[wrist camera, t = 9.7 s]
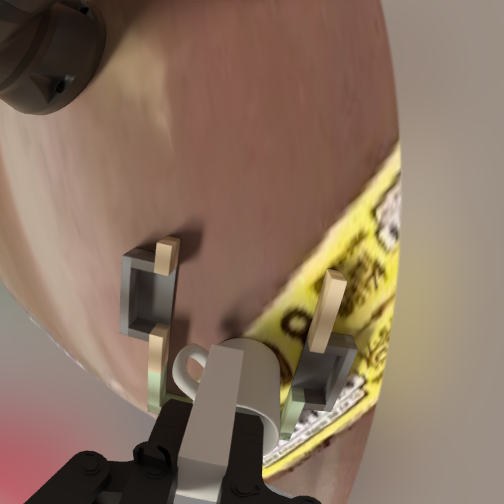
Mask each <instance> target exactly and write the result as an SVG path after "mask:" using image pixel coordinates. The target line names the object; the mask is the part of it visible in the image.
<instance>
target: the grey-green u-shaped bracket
mask: <svg viewBox="0 0 504 504" xmlns="http://www.w3.org/2000/svg"><path fill="white" fill-rule="evenodd" d="M180 240H181V239H179V238H175V237H170V236H166V237H165V238H163V239H162V240H160V241H159V242H157V246H156V253H155V252H151V251H146V250H142V249H137V248H133V249H132V250H130V251H129V252H127V253H125V254H124V255H122V270H121V292H120V334H123V335H127V336H130V337H134V338H137V339H140V340H144V341H148V342H149V358H148V412H151V413H155V414H158V415H159V413H160V410H161V408H162V406H163V405H164V404H165V403H166V402H167V401H168V400H170V399H171V398H172V399H176V400H180V401H184V402H188V403H192V404H193V400H192V399H190V398H186V397H182V396H178V395H174V394H170V393H167V392H166V382H167V366H168V352H169V340H170V328H171V317H172V307H173V298H174V289H175V280H176V271H177V263H178V255H179V248H180ZM346 284H347V280H346V279H345V277H344V276H343V274H342V272H341V271H336V270H331V269H327V271H326V274H325V278H324V281H323V285H322V289H321V292H320V296H319V299H318V303H317V306H316V309H315V313H314V316H313V319H312V323H311V326H310V329H309V332H308V336H307V339H306V342H305V345H304V348H303V351H302V354H301V357H300V361H299V364H298V367H297V370H296V373H295V375H294V378H293V381H292V384H291V387H290V390H289V393H288V396H287V398H286V401H285V404H284V407H283V410H282V412H281V415H280V440H288V441H289V440H290V437H291V435H292V433H293V430H294V428H295V426H296V423H297V421H298V419H299V416H300V414H301V411H302V409H309V410H318V411H328V412H331V411H332V409H333V407H334V405H335V403H336V400H337V398H338V396H339V394H340V392H341V389H342V387H343V385H344V383H345V380H346V378H347V376H348V373H349V371H350V369H351V366H352V364H353V361H354V359H355V356H356V354H357V351H358V348H357V346H356V344H355V341H354V339H353V337H352V336H350V335H344V334H337V333H331V331H332V328H333V325H334V322H335V319H336V316H337V313H338V310H339V307H340V304H341V301H342V297H343V294H344V291H345V288H346Z"/></svg>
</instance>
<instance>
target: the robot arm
mask: <svg viewBox="0 0 504 504" xmlns="http://www.w3.org/2000/svg"><path fill="white" fill-rule="evenodd" d="M105 39H106V29H105V23H104V20H103V18H102V16H101V14H100V13H99V12H98V11H97V10H96V9H95V8H94V7H92V6H91V5H90V4H88V3H87V2H85V1H83V0H0V99H2V100H3V101H4V102H6V103H7V104H8V105H10V106H11V107H13V108H14V109H15V110H17V111H19V112H22V113H25V114H33V115H46V114H50V113H53V112H55V111H57V110H59V109H61V108H62V107H64V106H65V105H67V104H68V103H69V102H71V101H72V100H73V99H74V98H75V97H76V96H77V95H78V94H79V93H80V92H81V91H82V89H83V88H84V87H85V86H86V84H87V83H88V82H89V80H90V79H91V77H92V75H93V74H94V72H95V70H96V68H97V66H98V64H99V62H100V59H101V56H102V53H103V50H104V45H105ZM243 354H244V351H242V350H237V349H232V348H227V347H222V346H217V345H213V344H212V345H211V348H210V351H209V354H208V358H207V361H206V364H205V368H204V371H203V374H202V377H201V381H200V384H199V387H198V391H197V394H196V397H195V401H194V404H192V403H188V402H184V401H180V400H176V399H172V398H171V399H170V400H168V401H167V402H166V403H165V404H164V405H163V406H162V408H161V410H160V413H159V416H158V418H157V420H156V423H155V425H154V428H153V430H152V432H151V435H150V437H149V440H148V441H146V442H143V443H140V444H139V445H137V446H136V447H135V448H134V450H133V457H134V460H132V461H128V462H118V461H107V459H106V458H105V457H103V456H102V455H101V454H99V453H97V452H94V451H83V452H79V453H77V454H76V455H74V456H73V457H72V458H71V459H70V460H69V461H68V462H67V463H66V464H65V465H64V466H63V467H62V468H61V469H60V470H59V471H58V472H57V473H56V474H55V475H54V476H52V477H51V479H49V480H48V481H47V482H46V483H45V484H44V485H43V486H42V487H41V488H40V489H39V490H38V491H37V492H36V493H35V494H34V495H32V496H31V497H30V498H29V499H28V500H27V501H26V502H25V503H24V504H173V501H174V497H175V494H179V495H183V496H188V497H192V498H197V499H202V500H207V501H212V502H217V504H322V503H321V502H320V501H318V500H317V499H315V498H313V497H310V496H297V497H294V498H292V499H290V498H287V497H285V496H282V495H279V494H277V493H275V492H273V491H271V490H270V489H269V488H268V487H267V486H266V485H265V484H264V481H263V479H262V463H263V439H264V438H263V436H264V425H263V423H262V421H261V419H260V417H259V416H257V415H251V414H245V413H239V412H235V411H236V403H237V396H238V389H239V382H240V375H241V368H242V361H243Z"/></svg>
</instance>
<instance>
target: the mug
mask: <svg viewBox="0 0 504 504" xmlns="http://www.w3.org/2000/svg"><path fill="white" fill-rule="evenodd" d="M217 346H222V347H227V348H232V349H237V350H242V351H244V354H243V361H242V368H241V375H240V382H239V389H238V396H237V403H236V411H235V412H239V413H245V414H251V415H257V416H259V417H260V419H261V421H262V423H263V425H264V436H263V438H264V439H263V456H265V455H267V454H268V453H270V452H271V451H272V450H273V449H274V448H275V447H276V445H277V444H278V442H279V439H280V365H279V361H278V359H277V357H276V355H275V354H274V352H273V351H272V350H271V349H270V348H269V347H267V346H266V345H264V344H263V343H261V342H258V341H256V340H252V339H247V338H235V339H230V340H226V341H224V342H222V343H220V344H219V345H217ZM208 354H209V351H207V350H206V349H204V348H203V347H201V346H200V345H197V344H188V345H186V346H185V347H184V348H182V349H181V351H180V352H179V353H178V355H177V356H176V359H175V361H174V364H173V371H172V373H173V379H174V381H175V383H176V384H177V386H178V387H179V388H180V389H181V390H182V391H183V392H184V393H185V394H186V395H188V396H189V397H190V398H191V399H192V400H193V404H194V401H195V397H196V394H197V391H198V387H199V384H200V383H198V382H197V381H195V380H194V379H193V378H192V377H191V376H190V375H189V374H188V372H187V370H186V361H187V358H188V357H192V358H194V359H195V360H197V361H198V362H199V363H200V364H201V365H202V366H203V367H204V368H205V364H206V361H207V358H208ZM203 371H204V370H203ZM202 374H203V373H202ZM200 381H201V380H200Z"/></svg>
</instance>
